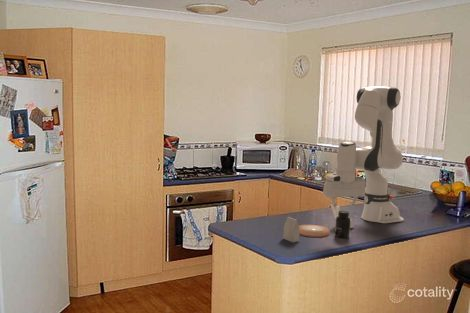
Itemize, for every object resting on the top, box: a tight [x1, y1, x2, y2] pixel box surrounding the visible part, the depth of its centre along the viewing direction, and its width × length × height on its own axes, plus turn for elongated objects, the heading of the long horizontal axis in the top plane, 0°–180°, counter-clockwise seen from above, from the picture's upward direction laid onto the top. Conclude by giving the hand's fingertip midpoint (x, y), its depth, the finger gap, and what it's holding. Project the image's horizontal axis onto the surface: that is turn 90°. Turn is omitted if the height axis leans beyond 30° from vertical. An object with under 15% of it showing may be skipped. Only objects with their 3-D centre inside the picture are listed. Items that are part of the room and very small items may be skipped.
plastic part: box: [330, 204, 354, 229], centre depth 250 cm, size 8×10×12 cm
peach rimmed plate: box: [299, 224, 331, 238], centre depth 240 cm, size 16×16×2 cm
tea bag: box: [283, 216, 301, 243], centre depth 226 cm, size 4×7×10 cm, turn 33°
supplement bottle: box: [334, 210, 352, 239], centre depth 234 cm, size 7×7×12 cm
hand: (343, 205), depth 232 cm, fingers open, 8 cm apart
